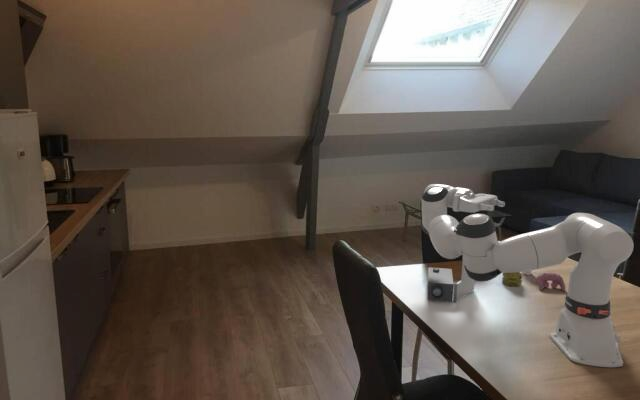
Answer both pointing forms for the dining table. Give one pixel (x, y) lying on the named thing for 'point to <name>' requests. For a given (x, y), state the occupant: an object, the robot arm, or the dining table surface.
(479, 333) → the dining table surface
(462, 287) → the side door
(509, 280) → the gold stepped round piece
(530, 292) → the dining table surface
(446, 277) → the camera body
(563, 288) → the video game controller
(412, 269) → the dining table surface
